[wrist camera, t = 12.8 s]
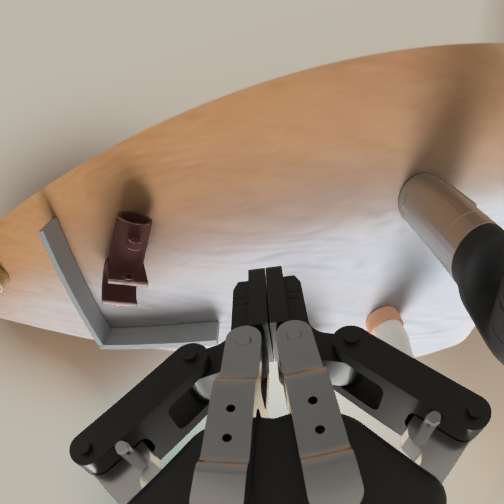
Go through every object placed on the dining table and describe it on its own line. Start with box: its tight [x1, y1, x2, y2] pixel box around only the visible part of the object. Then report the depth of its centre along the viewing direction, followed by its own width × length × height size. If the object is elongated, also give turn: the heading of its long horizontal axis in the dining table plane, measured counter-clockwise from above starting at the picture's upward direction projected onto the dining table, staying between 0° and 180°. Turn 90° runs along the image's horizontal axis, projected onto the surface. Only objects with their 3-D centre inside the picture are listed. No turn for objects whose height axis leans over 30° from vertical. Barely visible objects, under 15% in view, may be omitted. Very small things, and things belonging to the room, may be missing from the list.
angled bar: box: [38, 217, 219, 349], centre depth 52 cm, size 25×28×5 cm
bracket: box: [102, 211, 152, 307], centre depth 48 cm, size 6×17×10 cm, turn 161°
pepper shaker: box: [366, 306, 415, 359], centre depth 52 cm, size 7×7×19 cm
